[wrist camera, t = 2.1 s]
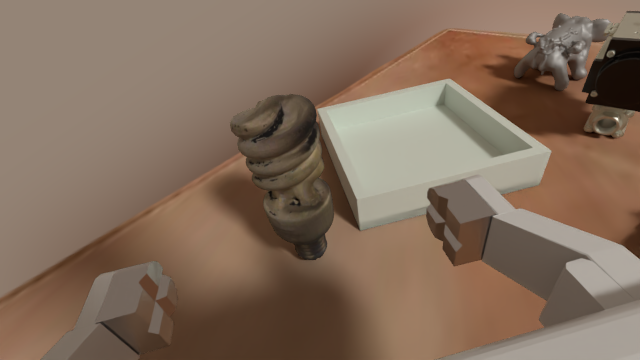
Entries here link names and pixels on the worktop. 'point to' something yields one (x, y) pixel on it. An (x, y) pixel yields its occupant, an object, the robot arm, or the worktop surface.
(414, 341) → the worktop surface
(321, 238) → the light bulb
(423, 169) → the tray
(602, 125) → the pneumatic valve
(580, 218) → the worktop surface
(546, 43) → the gray elephant figurine
